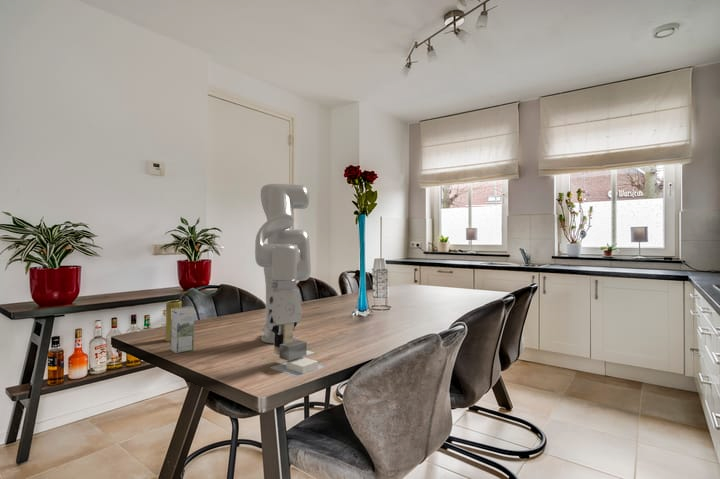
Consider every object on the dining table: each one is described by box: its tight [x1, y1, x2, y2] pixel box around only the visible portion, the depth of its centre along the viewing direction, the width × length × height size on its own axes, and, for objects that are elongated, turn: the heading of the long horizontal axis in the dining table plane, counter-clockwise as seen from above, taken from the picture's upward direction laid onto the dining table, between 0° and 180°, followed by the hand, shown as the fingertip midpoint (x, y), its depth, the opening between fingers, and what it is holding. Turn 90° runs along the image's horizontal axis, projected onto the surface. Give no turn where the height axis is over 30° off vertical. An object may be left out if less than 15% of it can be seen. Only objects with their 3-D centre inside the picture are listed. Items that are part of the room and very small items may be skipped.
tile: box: [285, 357, 319, 374], centre depth 112 cm, size 2×6×7 cm
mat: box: [269, 362, 325, 378], centre depth 114 cm, size 12×11×1 cm
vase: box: [164, 300, 183, 343], centre depth 145 cm, size 6×6×14 cm
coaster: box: [303, 350, 315, 358], centre depth 127 cm, size 7×6×1 cm
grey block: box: [273, 323, 308, 361], centre depth 116 cm, size 9×7×10 cm
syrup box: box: [169, 306, 195, 354], centre depth 131 cm, size 6×6×14 cm
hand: (283, 345), depth 117 cm, fingers closed on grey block, 3 cm apart
